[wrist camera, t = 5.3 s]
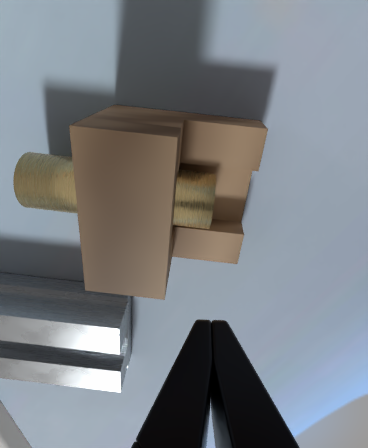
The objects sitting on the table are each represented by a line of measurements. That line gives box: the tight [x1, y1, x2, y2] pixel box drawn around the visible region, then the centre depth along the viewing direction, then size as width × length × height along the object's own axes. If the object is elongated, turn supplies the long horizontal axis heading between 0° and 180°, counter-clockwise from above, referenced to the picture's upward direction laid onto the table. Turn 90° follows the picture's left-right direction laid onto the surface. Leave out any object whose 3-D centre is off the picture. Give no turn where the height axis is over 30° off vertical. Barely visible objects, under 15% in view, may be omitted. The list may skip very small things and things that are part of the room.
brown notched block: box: [69, 105, 268, 300], centre depth 15 cm, size 8×8×6 cm
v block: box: [0, 273, 131, 392], centre depth 23 cm, size 12×8×4 cm, turn 85°
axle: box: [14, 152, 216, 229], centre depth 16 cm, size 10×3×3 cm, turn 84°
